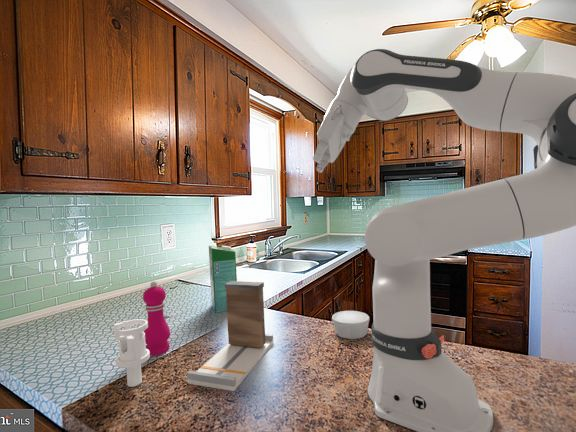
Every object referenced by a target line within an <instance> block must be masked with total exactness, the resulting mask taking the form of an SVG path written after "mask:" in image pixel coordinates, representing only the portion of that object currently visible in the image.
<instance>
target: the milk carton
mask: <svg viewBox="0 0 576 432" xmlns="http://www.w3.org/2000/svg"><path fill="white" fill-rule="evenodd" d="M236 256H237V255H236V251H235V250H233V249H232V246H229V245H221V247H220V246H213V245H208V257H209V258H208V259H209V275H210V276H209V278H210V280H209V281H210V297H211V298H210V299H211V300H210V301H211V307H212V309H213V312H214V313H221V312H227V301H226V288H225V284H226V283H228V282H230V281H238V277H237V261H236V260H237V257H236Z"/></svg>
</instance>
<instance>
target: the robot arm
mask: <svg viewBox="0 0 576 432" xmlns="http://www.w3.org/2000/svg"><path fill="white" fill-rule="evenodd" d="M406 89H407V90H408V89H411V90H416V91H417V90H418V91H425V92H430V93H432V94H435V95H437V96H438V97H440V98H441V99H443V100H444V101H445V102H446V103H447V104H448V105H449V106H450V107H451V108H452V109H453V111H454V112H455V113H456V115H457V116H458V118H459V119H460V120H461V121H462V122H463V123H464V124H465V125H467V126H469V127H472V128H476V129H479V130H484V131H491V132H503V133H513V134H514V133H516V134H523V135H526V136H529V137H531V138H532V139H533V140H534V141H535V143H536V145H535V146H534V147H533V149H532V150H533V166H534V169H532V170H530V171H528V172H525V173H522V174H518V175H513V176H509V177H505V178H501V179H497V180H493V181H490V182H485V183H480V184H477V185H473V186H470V187H465V188H461V189H458V190H454V191H448V192H445V193H441V194H437V195H434V196H429V197H426V198H421V199H417V200H413V201H409V202H406V203H402V204H397V205H393V206H389V207H385V208H382V209H381V210H379V211H377V212H376V213H374V215H373V216H372V217H371V218H370V220H369V221H368V222H367V225H366V227H365V233H364V241H365V247H366V249H367V251H368V253H369V255H370V256H371V257H372V258H373V259H374V271H373V272H374V273H373V281H372V312H373V313H372V316H373V322H372V325H371V344H372V348H373V352H372V353H373V357H372V367H371V373H370V379H369V382H368V386H367V394H368V396H369V398H370V400H371V401H372V404H373V405H374V413H375V415H376V417H378V418H381V419H383V420H385V421H389V422H391V423H394V424H397V425H400V426H402V427H404V428H407V429H409V430H413V431H415V432H491V431H492V429H493V426H494V414H493V410H492V408H491V406H490V405H489V404H488V403H487V402H485V401H483V400H481V399H480V398H479V397H478V392H477V388H476V385H475V383H474V380H473V378H472V377H471V376H470V375H469V374H468V373H467V372H466V371H464V370H463V369H462V368H461V367H460V366H459V365H458V364H456V362H455V361H454V360H452V358H450V357H449V356H448V354H446V353H445V352H444V351H443V350H442V344H443V343H444V342H445V335H440V337H438V336H437V335H436V333H435V331H434V330H433V328H432V311H431V308H432V306H431V264H430V263H431V262H430V261H431V260H434V259H438V258H441V257H445V256H449V255H453V254H456V253H460V252H463V251H464V252H465V251H467V250H472V249H477V248H483V247H488V246H493V245H494V246H495V245H500V244H504V243H505V244H507V243H511V242H516V241H517V242H518V241H521V240H527V239H533V238H534V239H535V238H537V237H542V236H546V235H550V234H553V233H557V232H560V231H564V230H567V229H570V228H572V227H575V226H576V78H575V77H572V76H571V77H570V76H566V75H561V74H553V73H545V72H543V73H542V72H524V71H523V72H522V71H520V72H517V71H516V72H514V71H501V70H493V69H489V68H488V69H487V68H483V67H481V66H479V65H478V66H477V65H476V64H473V63H471V62H468V61H464V60H458V59H451V58H450V59H449V58H439V57H428V56H417V55H406V54H401V53H400V54H399V53H397V52H394V51H392V50H389V49H385V48H376V49H372V50H368V51H366V52H365V53H363V54H362V55H361V56H360V57H359V58H358V59H357V60H356V61H355V63H354V64H353V65H352V67H350V68H349V70H348V72H347V73H346V75H345V76H344V79H342V82H340V85H339V88H338V91H337V93H336V94H337V95H336V96H335V98H334V99H333V100H332V101H331V103H330V105H329V107H328V108H327V111H326V113H325V115H324V116H323V121H322V122H321V125H320V126H319V128H318V131H317V133H316V135H317V139H318V141H317V142H318V144H317V146H316V150H315V152H314V155H313V157H312V160H313V162H315V163H317V166H316V168H315V169H316V171H317V172H319V173H323V171H324V170H325V168H326V167H327V166H328V164H329V163H330V164H333V163H334V162H335V161H336V159H337V158H338V157H339V155H340V154H341V152H342V150H343V148H344V147H345V145H346V142H349V141H351V138H352V135H353V134H354V132H356V128H357V126H358V125H359V123H360V121H361V119H362V117H363V116H364V115H365V116H367V117H370V118H372V119H375V120H378V121H381V122H387V121H391V120H394V119H396V118H398V117H399V116H401V114H402V113H403V112H404V111H405V110H406V108H407V105H408V102H409V97H408V94H407V91H406Z"/></svg>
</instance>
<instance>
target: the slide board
mask: <svg viewBox="0 0 576 432" xmlns="http://www.w3.org/2000/svg"><path fill="white" fill-rule="evenodd" d="M273 345H274V334H269V333H265V344H264V345H263V346H262V347H261V348H259V347H250V346H241V345H232V344H229V342H227V343H226V345H224V346H223V347H222V348H221V349H220V350H219V351H217V352H216V353H215V354H214V355H213V356H212V357H211V358H209V359H208V360H207V362H205V363H204V364H203V365H201V366H200V368H198V369H196V371H195V370H189V371H187V372H186V376H187V384H189V385H195V386H200V387H206V388H207V387H208V388H212V389H213V388H214V389H219V390H224V391H231V392H235V391H236V390H237V388H238V387H239V386H240V385H241V383H242V382H244V380H245V379H246V378H247V376H248V375H249V374H250V373H251V371H252V370H253V369H254V368H255V367H256V365H257V364H258V363H259V362H260V360H261V359H262V358H263V356H264V355H265V354H266V353H267V352H268V350H269V349H270V348H271V347H272V346H273Z"/></svg>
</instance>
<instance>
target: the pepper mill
mask: <svg viewBox="0 0 576 432" xmlns="http://www.w3.org/2000/svg"><path fill="white" fill-rule="evenodd" d="M157 282H158V281H152V282H150V287H148V288H146V289H145V290H144V292H143V295H142V300H143V302H144V303H145V304H146V305H145V311H146V312H147V319H146V320H147V321H148V328H147V329H146V330H144V331H143V332H144V333H145V343H146V349H148V350H149V351H150V356H158V355H162V354H164V353H166V352H167V351H169V350H170V341H169V339H170V337H171V330H170V327H169V325H168V324H169V323H167V321H166V318H165V315H164V309H165V302H164V300H165V299H166V297H167V293H166V290H165V289H164V288H163V287H162V286H158V283H157Z"/></svg>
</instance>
